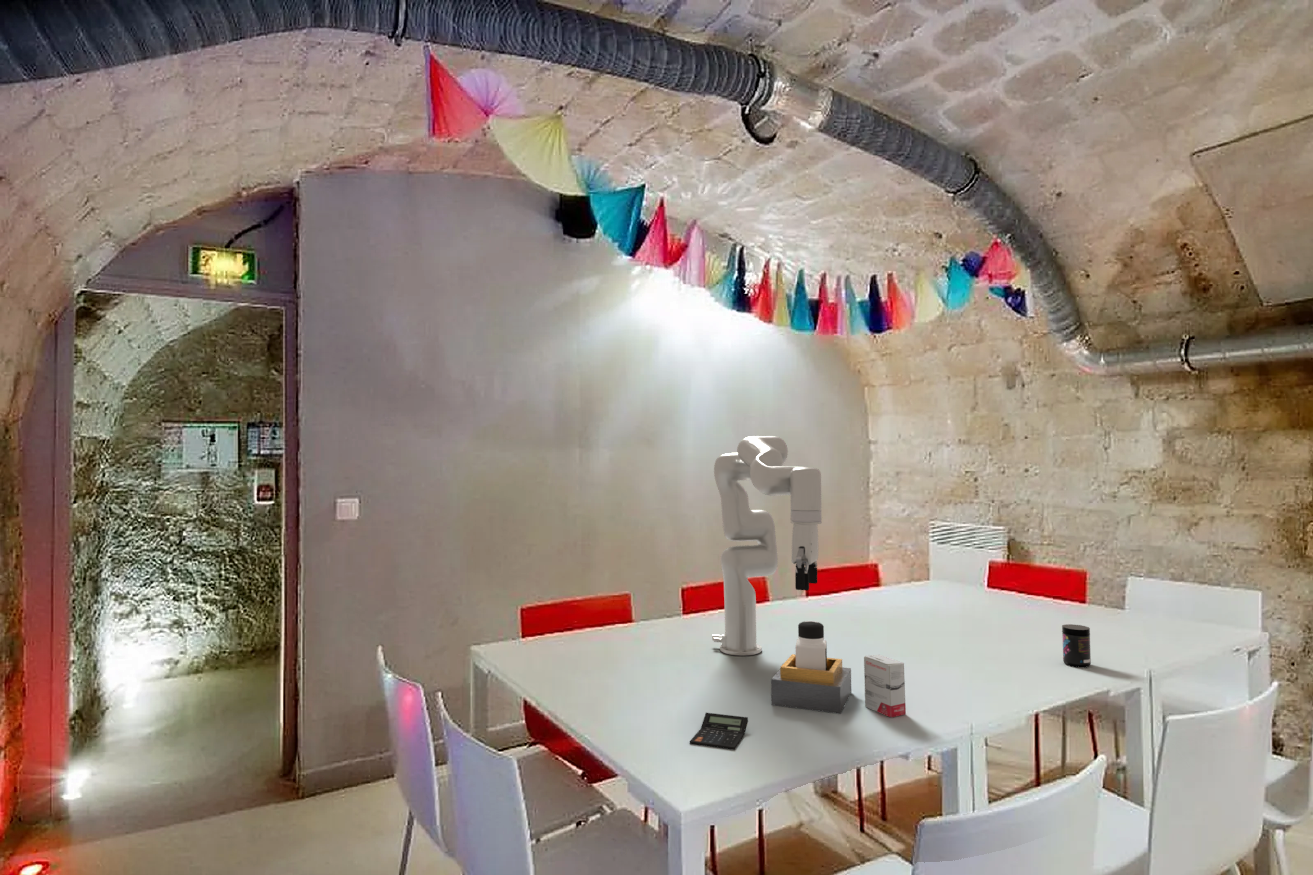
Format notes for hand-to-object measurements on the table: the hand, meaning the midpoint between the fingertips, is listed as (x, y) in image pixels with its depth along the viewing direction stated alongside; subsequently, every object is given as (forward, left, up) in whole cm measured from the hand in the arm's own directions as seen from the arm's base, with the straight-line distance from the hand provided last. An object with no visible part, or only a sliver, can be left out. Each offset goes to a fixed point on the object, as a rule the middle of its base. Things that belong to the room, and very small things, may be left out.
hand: (806, 586), depth 177 cm
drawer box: (+2, -2, -26) cm, 26 cm away
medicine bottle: (+2, -3, -20) cm, 21 cm away
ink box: (+19, -5, -27) cm, 33 cm away
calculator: (-11, -34, -27) cm, 45 cm away
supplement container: (+64, +53, -27) cm, 87 cm away
